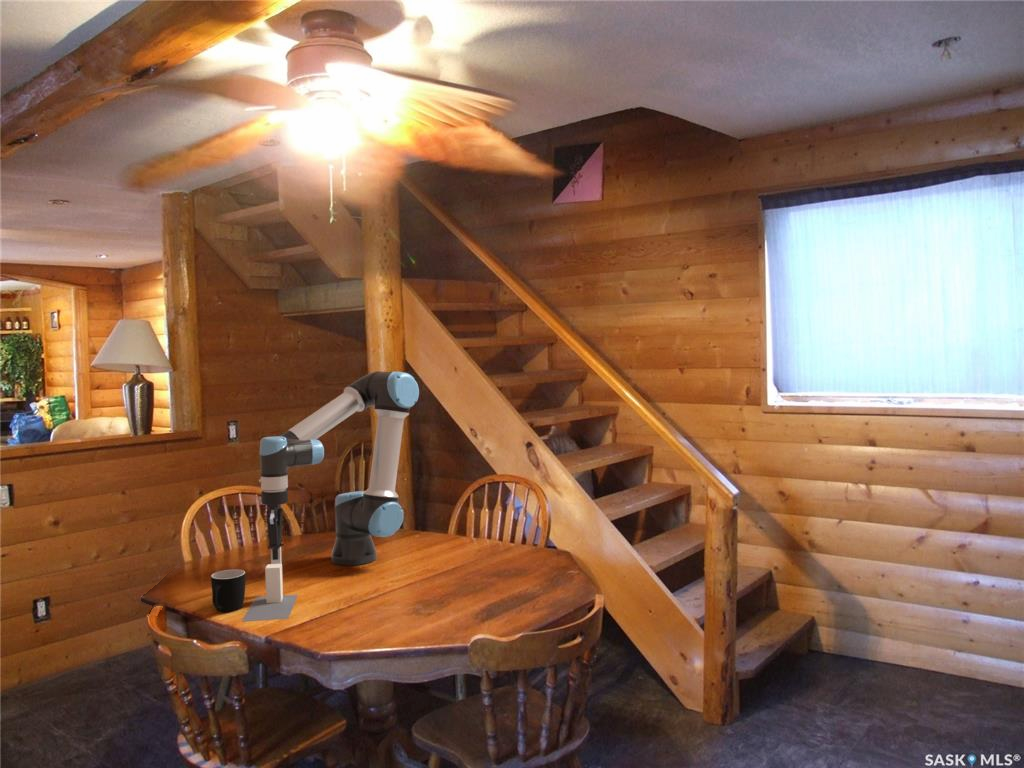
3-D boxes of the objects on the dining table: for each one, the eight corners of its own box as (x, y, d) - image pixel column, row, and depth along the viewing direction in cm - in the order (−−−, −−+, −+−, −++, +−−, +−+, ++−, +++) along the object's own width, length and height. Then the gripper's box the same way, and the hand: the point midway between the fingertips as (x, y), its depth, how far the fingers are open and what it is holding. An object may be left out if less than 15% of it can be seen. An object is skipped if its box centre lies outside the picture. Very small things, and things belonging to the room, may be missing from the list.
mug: (223, 603, 221) (222, 568, 221) (252, 605, 220) (251, 569, 219) (199, 618, 210) (197, 581, 209) (229, 620, 208) (228, 582, 207)
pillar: (283, 597, 225) (282, 563, 224) (280, 602, 221) (279, 567, 220) (268, 598, 224) (267, 564, 224) (266, 603, 220) (265, 568, 219)
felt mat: (298, 595, 227) (298, 594, 227) (288, 620, 207) (288, 618, 207) (255, 598, 225) (255, 597, 225) (241, 622, 206) (241, 621, 206)
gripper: (265, 486, 233) (267, 564, 234) (256, 494, 220) (259, 576, 221) (290, 485, 234) (292, 562, 235) (284, 493, 221) (286, 575, 222)
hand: (276, 569), depth 228 cm, fingers closed
